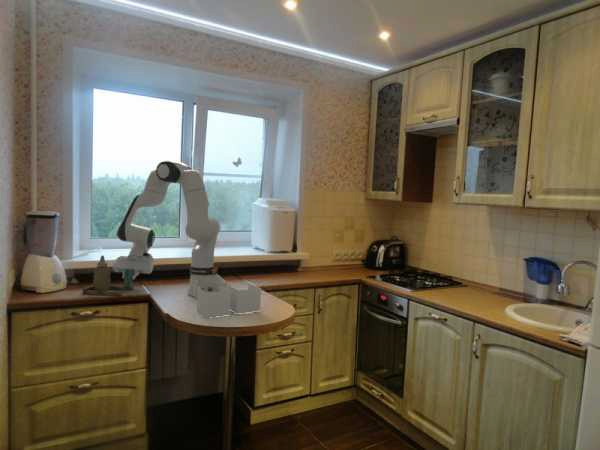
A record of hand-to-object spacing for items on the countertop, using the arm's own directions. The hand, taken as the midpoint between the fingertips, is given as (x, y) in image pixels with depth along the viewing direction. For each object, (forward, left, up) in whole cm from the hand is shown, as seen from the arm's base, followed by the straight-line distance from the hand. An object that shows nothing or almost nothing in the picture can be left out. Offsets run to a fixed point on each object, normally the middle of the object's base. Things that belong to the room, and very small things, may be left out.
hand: (128, 278), depth 205 cm
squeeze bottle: (+10, +6, -6) cm, 13 cm away
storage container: (-59, +29, -6) cm, 66 cm away
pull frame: (+7, +6, -6) cm, 11 cm away
